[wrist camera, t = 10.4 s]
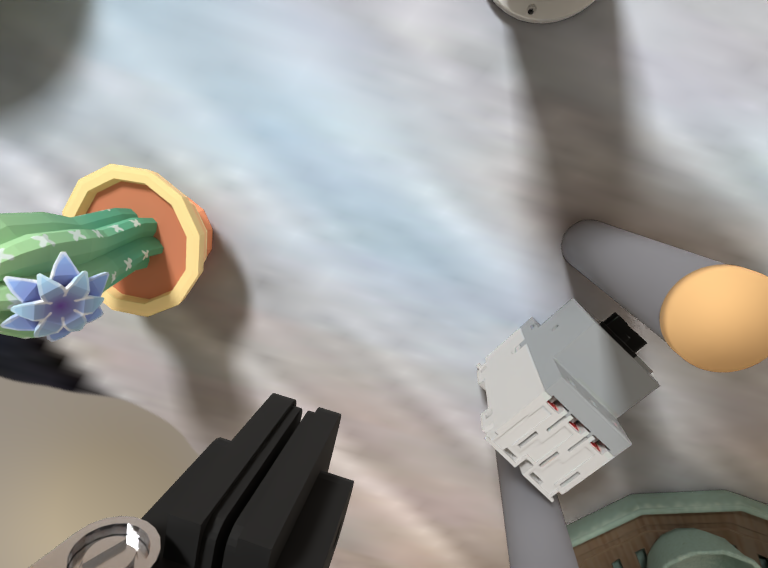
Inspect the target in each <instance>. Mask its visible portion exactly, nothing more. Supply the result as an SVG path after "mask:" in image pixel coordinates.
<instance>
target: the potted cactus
mask: <svg viewBox="0 0 768 568" xmlns="http://www.w3.org/2000/svg"><path fill="white" fill-rule="evenodd" d="M62 213H63V216H61V215H56V214H50V213H45V212H30V213H2V214H0V334H4V335H9V336H14V337H19V338H25V339H26V338H35V337H42V336H47V339H48V340H50V341H51V342H54V341H57V340H59V339H61V338H63V337H65V336H66V335H68V334H69V333H71V332H74V331H80V330H82V329H83V327H84V325H85V324H87V323H90V322H92V321H94V320H96V319H98V318H99V317H101V316H102V315H103V314H104V313H103V311H102V309H101V307H100V305H101V303H102V302H103V303H105V304H106V305H107V306H108V307H110V308H111V309H112V310H116V311H121V312H126V313H131V314H136V315H140V316H145V317H149V316H151V315H154V314H156V313H159V312H161V311H164V310H166V309H169V308H172V307H174V306H177V305H179V304H180V303H181V302H182V301H183V300H184V299H185V298H186V296H187V295H188V293H189V292H190V290H191V289H192V287H193V286H194V284H195V283H196V281H197V280H198V278H199V277H200V275H201V274H202V272H203V267H204V262H205V260H206V257H207V256H208V254H209V253H210V251H211V250H212V234H213V229H212V227H211V225H210V222H209V220H208V218H207V216H206V214H205V211H204V210H203V209H202V208H201V207H199V206H198V205H197V204H196V203H194V202H193V201H192V200H191V199H189V198H188V197H186V196H185V195H184V194H183V193H182V192H180V191H179V190H178V189H177V188H175V187H174V186H173V185H172V184H170V183H169V182H168V181H167V180H165V179H164V178H163V177H162V176H160V175H159V174H158V173H156V172H153V171H150V170H146V169H140V168H134V167H127V166H121V165H115V164H109V165H107V166H105V167H103V168H101V169H99V170H97V171H95V172H93V173H91V174H89V175H87V176H85V177H83V178H81V179H79V181H78V183H77V184H76V186H75V188H74V190H73V192H72V194H71V196H70V198H69V200H68V202H67V204H66V206H65V208H64V210H63V211H62Z"/></svg>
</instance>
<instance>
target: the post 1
mask: <svg viewBox="0 0 768 568" xmlns="http://www.w3.org/2000/svg"><path fill="white" fill-rule="evenodd" d="M495 451H496V459H497V467H498V474H499V482H500V490H501V498H502V506H503V514H504V522H505V530H506V538H507V546H508V554H509V562H510V568H579V567H578V563H577V560H576V557H575V553H574V550H573V547H572V543H571V540H570V537H569V533H568V530H567V527H566V523H565V520H564V517H563V513H562V510H561V507H560V503H559V500H558V497H557V493H556V494H555V495H553V496H552V497H553V498H554V501H553V502H551V501H550V500H549V499H548V498H547V497H546V496H545V495H544V494H543V493H541V492H540V491H539V490H538V489H537V488H536V487H535V486H534V485H533V484H532V483H531V482H530V481H529V480H528V479H527V478H525V477H524V476H523V475H522V472H521V470H520V468H519V465H518V466H516V467H514V466H513V465H512V464H511V463H510V462H508V461H507V460H506V459H505V458H504V457H503V456H502V455H501V454H500V453H499V452H498V451H497V450H496V449H495ZM504 451H506V450H504ZM530 475H531V474H530Z"/></svg>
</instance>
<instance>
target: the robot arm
mask: <svg viewBox="0 0 768 568" xmlns="http://www.w3.org/2000/svg"><path fill="white" fill-rule="evenodd" d="M493 1H494V2H495V4H496V5H497V6H498V7H499V8H501V9H502V10H503V11H504V12H505V13H507V14H508V15H510V16H512V17H514V18H516V19H518V20H522V21H526V22H529V23H543V24H545V23H551V22H558V21H561V20H564V19H566V18H569V17H572V16H574V15H575V14H577V13H579V12H581V11H582V10H584V9H585V8H587V7H588V6H589V5H590V4H592V3H593V2H594V1H595V0H493ZM529 10H532V11H533V14H532V15H530V14H528V11H529ZM301 416H302V408H299V407H296V400H295V399H291V398H288V397H285V396H282V395H279V394H275V393H273V394H272V395H271V396H270V397H269V398H268V399H267V400H266V402H265V403H264V404H263V405H262V406H261V407H260V408H259V410H258V411H257V412H256V413H255V414H254V415H253V417H252V418H251V419H250V420H249V421H248V422H247V423H246V425H245V426H244V427H243V428H242V429H241V430H240V432H239V433H238V434H237V435H236V436H235V437H234V439H233V440H232V441H230V440H227V439H224V438H221V437H220V438H217V439H216V440H215V441H213V442H212V443H211V444H210V445H209V446H208V448H207V449H206V450H205V451H204V452H203V453H202V454H201V455H200V456H199V457H198V458H197V459H196V461H195V462H194V463H193V464H192V465H191V466H190V467H189V468H188V469H187V470H186V471H185V472H184V473H183V475H182V476H181V477H180V478H179V479H178V480H177V481H176V482H175V483H174V484H173V485H172V486H171V487H170V488H169V490H168V491H167V492H166V493H165V494H164V495H163V496H162V497H161V498H160V499H159V500H158V502H156V503H155V504H154V506H153V507H152V508H151V509H150V510H149V511H148V512H147V513H146V514H145V515H144V516H143V517H142V519H139V518H136V517H126V516H118V517H111V518H106V519H102V520H99V521H97V522H94V523H91V524H89V525H87V526H86V527H84V528H82V529H81V530H79V531H77V532H76V533H74V534H73V535H71V536H70V537H69V538H67V539H66V540H65V541H63V542H62V543H61V544H59V545H58V546H57V547H55V548H54V549H53V550H51V551H50V552H49V553H47V554H46V555H45V556H43V557H42V558H41V559H39V560H38V561H37V562H35V563H34V564H33V565H31V566H30V567H29V568H329V566H330V563H331V560H332V557H333V554H334V551H335V548H336V545H337V542H338V538H339V535H340V532H341V529H342V525H343V522H344V518H345V515H346V511H347V507H348V504H349V500H350V496H351V492H352V488H353V484H354V481H352V480H349V479H346V478H343V477H340V476H337V475H334V474H331V473H328V469H329V465H330V461H331V457H332V453H333V449H334V444H335V440H336V436H337V432H338V428H339V424H340V419H341V414H339V413H336V412H333V411H330V410H327V409H323V408H320V407H319V408H318V409H317V410H316V412H312V411H307V413H306V414H305V416H304V417H303V419H302V420H301ZM300 421H301V422H300Z"/></svg>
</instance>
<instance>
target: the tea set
mask: <svg viewBox="0 0 768 568" xmlns="http://www.w3.org/2000/svg"><path fill="white" fill-rule="evenodd" d="M566 527H567V530H568V533H569V537H570V540H571V543H572V547H573V550H574V553H575V557H576V560H577V563H578V567H579V568H768V505H766V504H764V503H761V502H758V501H755V500H752V499H750V498H747V497H744V496H741V495H738V494H736V493H733V492H730V491H727V490H710V491H688V492H667V493H645V494H631V495H629V496H627V497H625V498H623V499H620V500H618V501H616V502H614V503H612V504H610V505H608V506H606V507H604V508H602V509H600V510H598V511H596V512H594V513H592V514H590V515H588V516H586V517H584V518H581V519H579V520H577V521H575V522H573V523H571V524H569V525H567V526H566Z"/></svg>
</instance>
